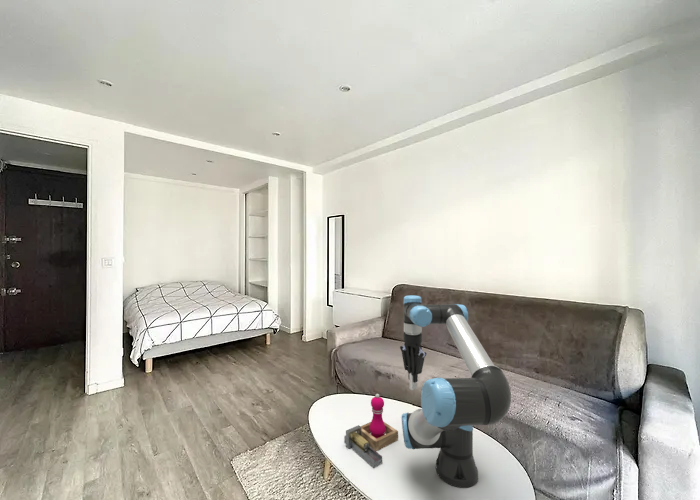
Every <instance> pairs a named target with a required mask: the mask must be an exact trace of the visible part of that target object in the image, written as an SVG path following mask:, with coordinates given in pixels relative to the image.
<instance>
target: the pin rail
mask: <svg viewBox="0 0 700 500" xmlns="http://www.w3.org/2000/svg"><path fill="white" fill-rule="evenodd" d="M361 426H362V425H360V424H358V425H355V426H354V427H351V428H349V429H347V430H345V435H343V437H344V443H345V448H346V449H348V450H350V449H351V450H352V451H354V452H355V453H356V454H357V455H358V456H359V457H361V458H362V459H363V460H364V461H365V462H366V463H367V464H369V465H370V466H371V467H372V468H373V469H374V468H377V467H378V466H380V465H383V456H382V455H381V454H380V453H378V451H375V450H374V449H372V448H371V447H370V448H369V450H368V451H363V450H362V449H361V448H360V447H359V446H357V445H356V444H355V443H354V442H353V441H352V440H351V434H352V433H355V432H357V433H358V434H359V435H360V436H362V428H361Z"/></svg>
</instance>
